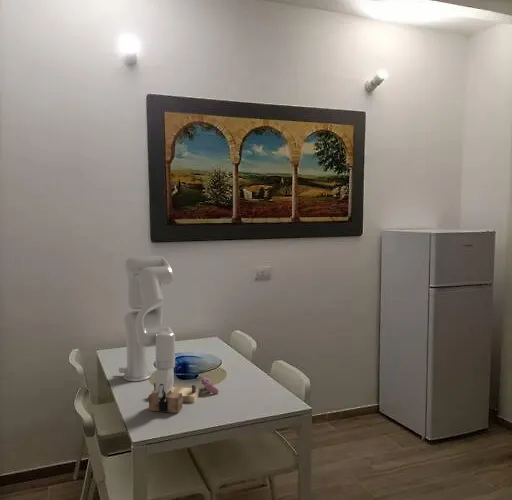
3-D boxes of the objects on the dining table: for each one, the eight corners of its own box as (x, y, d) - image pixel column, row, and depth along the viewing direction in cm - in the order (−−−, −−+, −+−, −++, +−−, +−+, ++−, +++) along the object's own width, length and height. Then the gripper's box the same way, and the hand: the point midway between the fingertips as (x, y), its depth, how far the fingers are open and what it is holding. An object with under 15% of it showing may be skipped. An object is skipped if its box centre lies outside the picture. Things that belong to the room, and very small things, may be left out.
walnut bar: (148, 410, 188) (148, 395, 188) (153, 405, 193) (153, 390, 193) (177, 413, 186) (177, 398, 186) (182, 407, 191) (182, 393, 190)
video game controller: (204, 390, 214) (197, 377, 212) (213, 384, 215) (206, 372, 214) (210, 398, 205) (203, 385, 203) (219, 392, 206) (212, 379, 204)
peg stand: (149, 400, 199) (149, 387, 198) (156, 391, 208) (156, 379, 207) (194, 402, 197) (194, 389, 196) (199, 393, 206) (199, 381, 205)
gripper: (162, 355, 197) (162, 398, 199) (149, 369, 180) (149, 416, 182) (180, 356, 196) (180, 399, 198) (168, 370, 179) (168, 417, 181)
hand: (165, 407), depth 190 cm, fingers closed on walnut bar, 5 cm apart
